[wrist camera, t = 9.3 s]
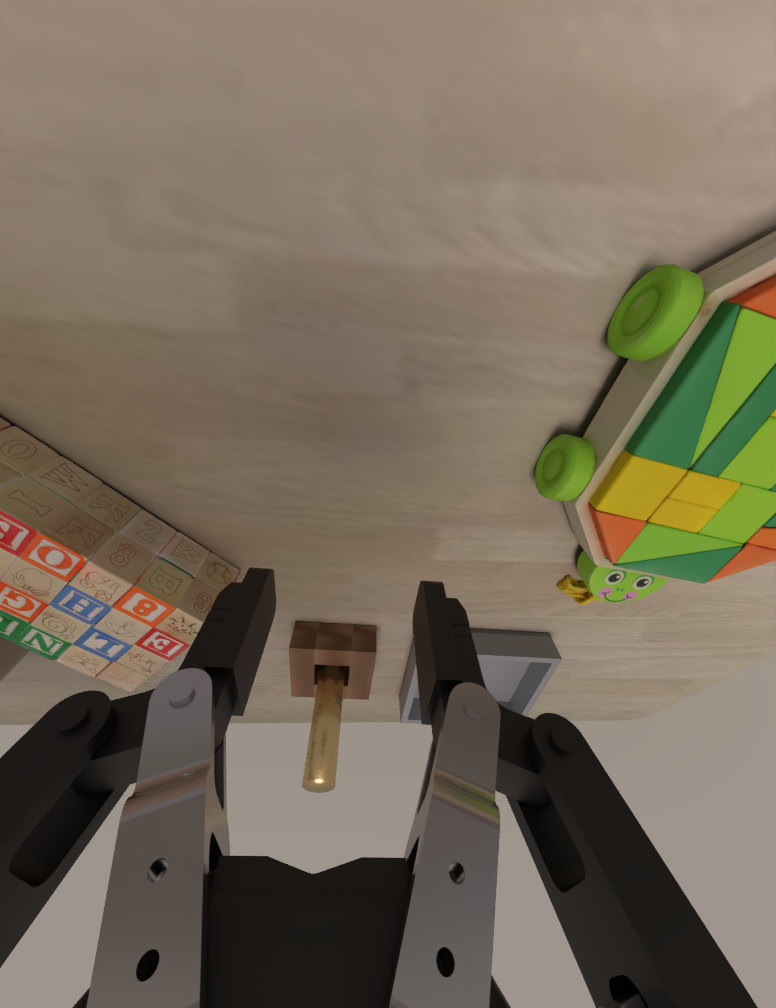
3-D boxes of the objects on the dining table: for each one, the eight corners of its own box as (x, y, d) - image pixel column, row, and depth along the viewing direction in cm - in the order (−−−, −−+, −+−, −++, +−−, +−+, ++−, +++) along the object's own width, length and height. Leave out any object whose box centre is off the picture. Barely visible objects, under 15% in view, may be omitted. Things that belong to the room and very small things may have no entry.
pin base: (297, 669, 39) (291, 696, 37) (295, 621, 35) (289, 648, 32) (369, 672, 40) (368, 699, 37) (376, 625, 36) (376, 652, 33)
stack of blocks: (-39, 386, 22) (-95, 497, 27) (-168, 419, 17) (-212, 551, 21) (242, 571, 31) (167, 632, 35) (214, 630, 26) (130, 694, 30)
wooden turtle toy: (473, 572, 33) (489, 622, 28) (678, 179, 18) (783, 143, 13) (673, 609, 36) (718, 658, 31) (981, 300, 21) (1150, 306, 17)
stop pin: (322, 655, 38) (302, 792, 28) (323, 640, 37) (301, 778, 26) (346, 656, 38) (334, 792, 28) (347, 641, 37) (335, 779, 27)
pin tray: (399, 696, 42) (400, 722, 40) (416, 625, 36) (419, 651, 33) (511, 701, 44) (519, 727, 41) (549, 632, 37) (561, 659, 34)
